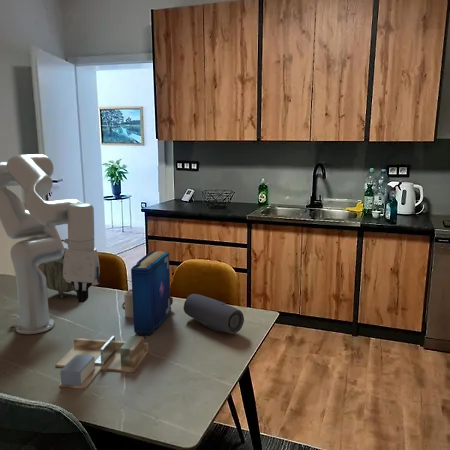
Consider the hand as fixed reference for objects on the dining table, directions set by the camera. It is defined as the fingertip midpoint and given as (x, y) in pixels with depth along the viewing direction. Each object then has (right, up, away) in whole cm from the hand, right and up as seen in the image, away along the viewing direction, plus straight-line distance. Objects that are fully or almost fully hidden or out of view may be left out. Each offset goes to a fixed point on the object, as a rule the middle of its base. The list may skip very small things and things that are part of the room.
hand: (82, 300), depth 136 cm
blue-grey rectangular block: (+3, -18, -14) cm, 24 cm away
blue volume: (+18, -13, +22) cm, 31 cm away
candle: (+9, -11, +30) cm, 34 cm away
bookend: (+8, -16, -4) cm, 19 cm away
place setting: (+12, -10, +37) cm, 41 cm away
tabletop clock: (-24, -7, +50) cm, 56 cm away
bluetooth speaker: (+40, -13, +20) cm, 47 cm away
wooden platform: (+7, -18, -8) cm, 21 cm away
